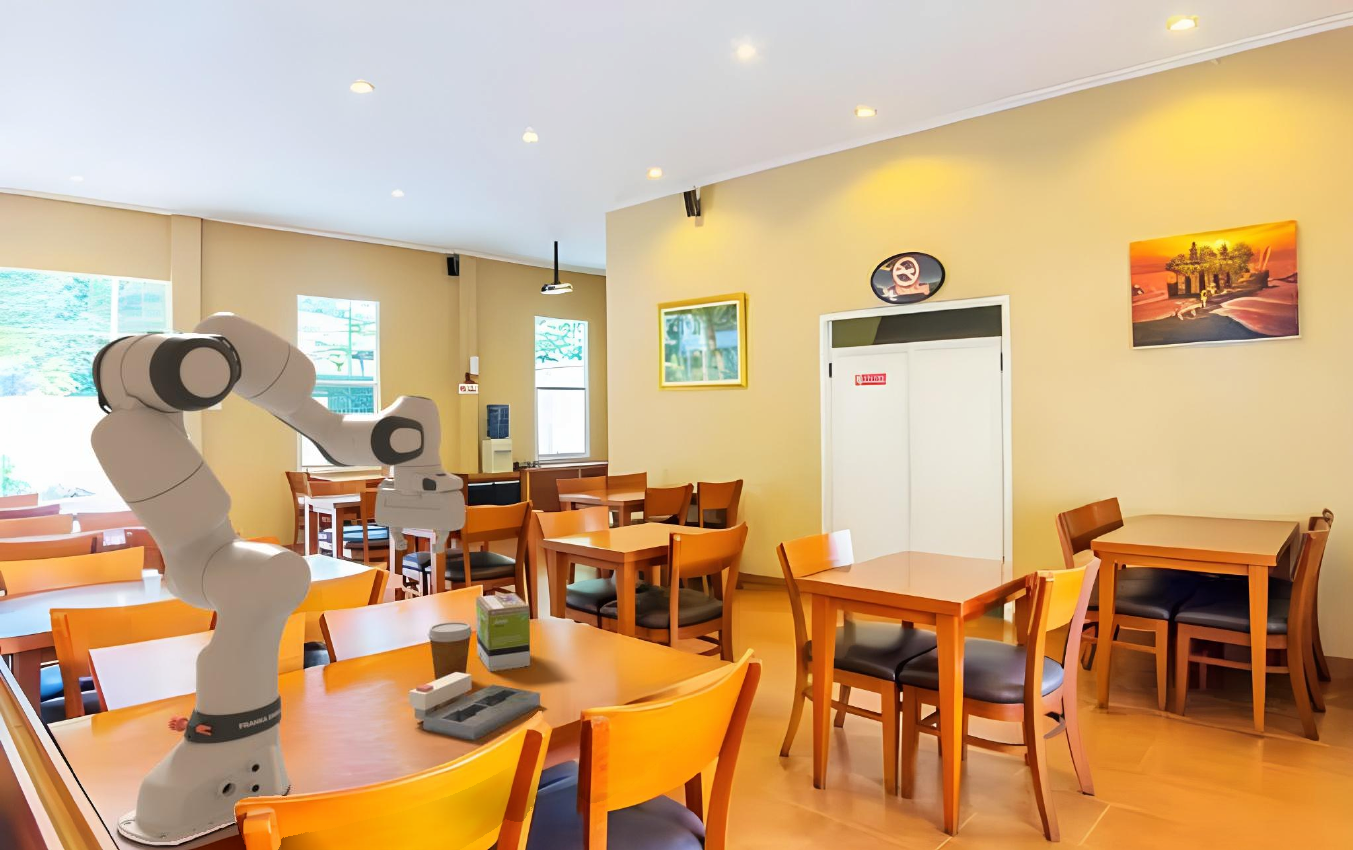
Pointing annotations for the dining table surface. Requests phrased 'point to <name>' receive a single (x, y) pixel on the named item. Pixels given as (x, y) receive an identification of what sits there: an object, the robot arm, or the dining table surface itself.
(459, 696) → the tan rectangular block
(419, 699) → the white key block
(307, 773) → the dining table surface
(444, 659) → the disposable coffee cup
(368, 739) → the dining table surface
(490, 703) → the keyhole plate
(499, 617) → the tea box
